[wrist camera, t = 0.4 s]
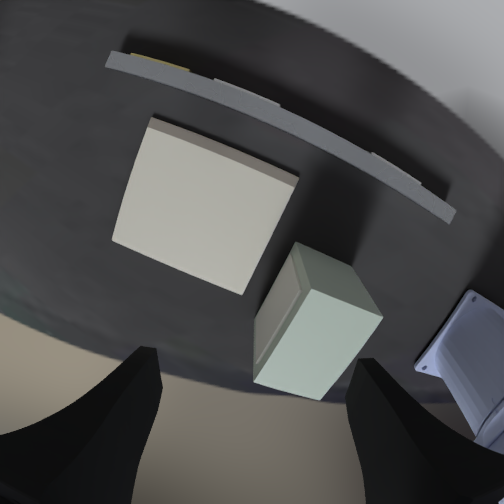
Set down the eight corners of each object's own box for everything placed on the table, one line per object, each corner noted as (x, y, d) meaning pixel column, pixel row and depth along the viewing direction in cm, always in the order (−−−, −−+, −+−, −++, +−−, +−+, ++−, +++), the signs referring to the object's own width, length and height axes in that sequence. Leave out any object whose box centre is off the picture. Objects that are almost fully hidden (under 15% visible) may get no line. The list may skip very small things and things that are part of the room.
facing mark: (298, 177, 17) (299, 178, 17) (242, 293, 20) (242, 295, 20) (152, 117, 16) (151, 117, 16) (113, 239, 19) (111, 240, 18)
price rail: (445, 202, 17) (457, 208, 16) (437, 217, 18) (449, 224, 16) (123, 53, 14) (113, 48, 13) (115, 70, 15) (104, 66, 13)
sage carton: (352, 266, 19) (385, 318, 14) (308, 338, 21) (321, 400, 16) (293, 240, 19) (308, 287, 13) (252, 318, 21) (250, 381, 15)
